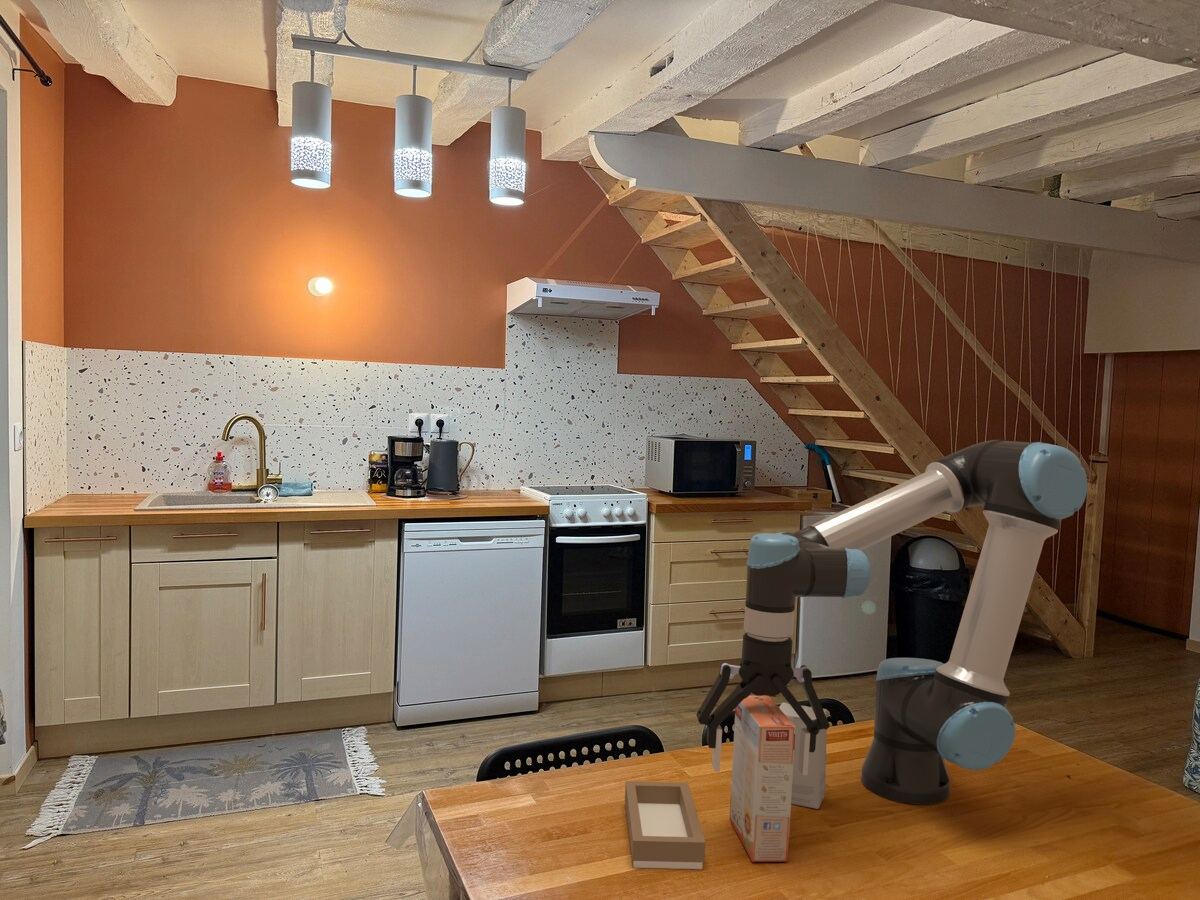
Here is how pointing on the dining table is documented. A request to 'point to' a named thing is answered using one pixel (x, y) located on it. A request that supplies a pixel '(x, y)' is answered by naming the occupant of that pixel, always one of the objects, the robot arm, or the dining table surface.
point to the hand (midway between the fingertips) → (759, 770)
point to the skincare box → (812, 785)
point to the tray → (663, 826)
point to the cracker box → (762, 778)
